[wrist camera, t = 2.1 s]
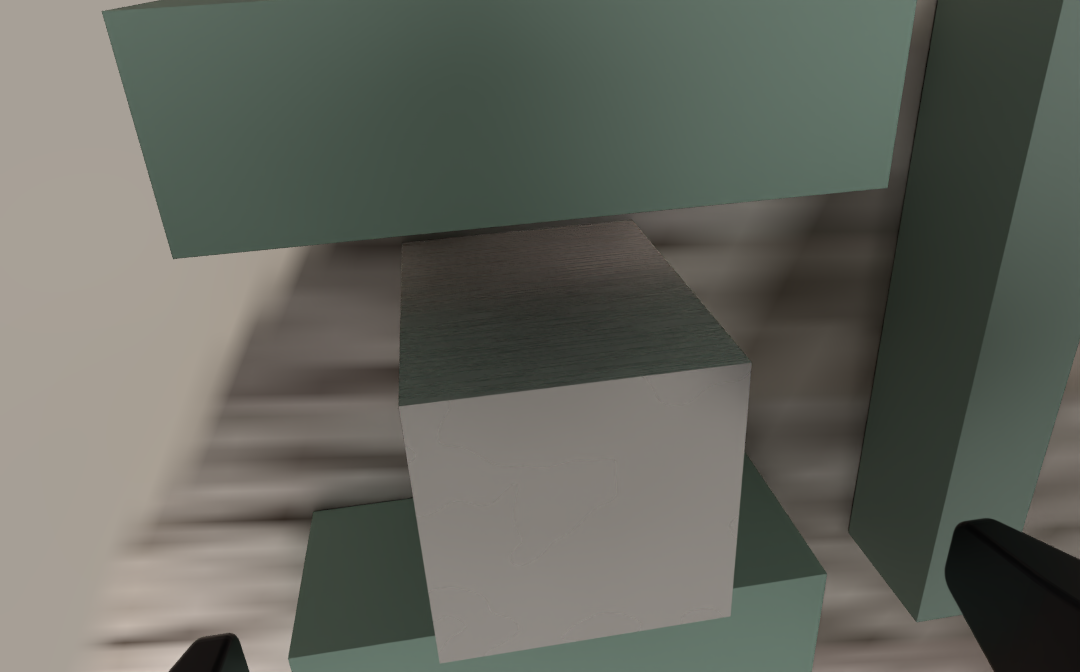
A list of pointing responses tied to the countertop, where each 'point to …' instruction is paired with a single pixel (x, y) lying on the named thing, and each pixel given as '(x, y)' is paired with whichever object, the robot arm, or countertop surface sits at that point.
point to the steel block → (567, 438)
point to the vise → (642, 186)
